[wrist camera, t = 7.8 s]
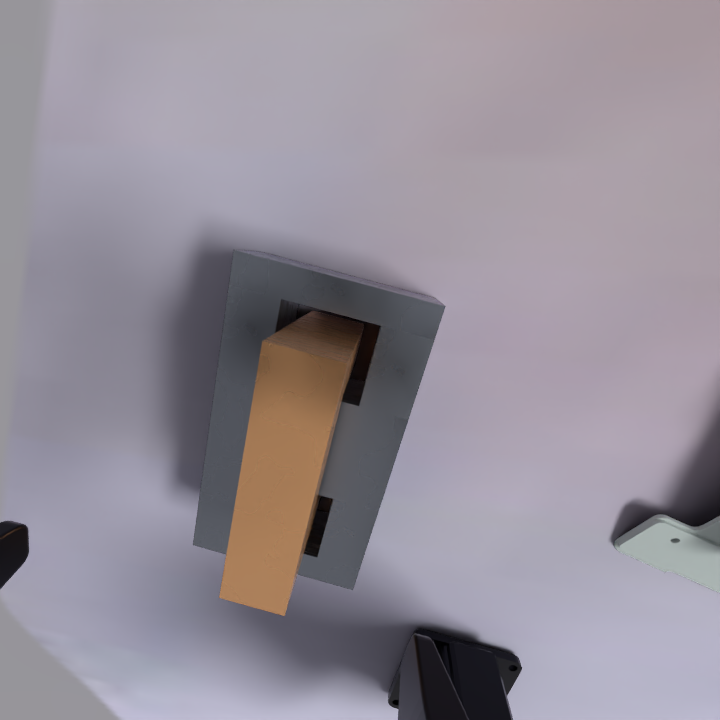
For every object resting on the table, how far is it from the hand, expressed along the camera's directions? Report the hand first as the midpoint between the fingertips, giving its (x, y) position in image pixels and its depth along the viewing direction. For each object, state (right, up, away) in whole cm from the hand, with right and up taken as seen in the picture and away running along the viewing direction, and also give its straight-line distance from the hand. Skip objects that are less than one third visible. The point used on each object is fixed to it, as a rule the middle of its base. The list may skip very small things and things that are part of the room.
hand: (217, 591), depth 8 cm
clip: (+1, +3, +10) cm, 10 cm away
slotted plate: (+1, +3, +10) cm, 10 cm away
